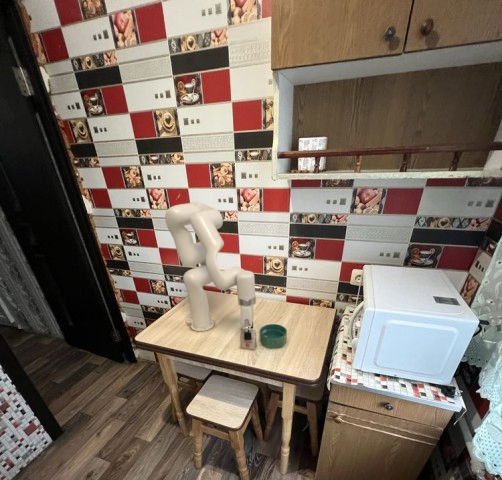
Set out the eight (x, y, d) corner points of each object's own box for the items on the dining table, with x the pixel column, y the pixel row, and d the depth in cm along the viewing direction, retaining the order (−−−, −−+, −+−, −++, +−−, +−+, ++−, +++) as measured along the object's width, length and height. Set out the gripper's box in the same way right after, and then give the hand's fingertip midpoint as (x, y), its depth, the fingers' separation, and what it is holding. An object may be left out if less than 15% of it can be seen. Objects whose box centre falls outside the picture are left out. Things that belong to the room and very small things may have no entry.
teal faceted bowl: (262, 350, 129) (262, 340, 125) (257, 335, 139) (257, 325, 136) (289, 347, 130) (290, 336, 127) (282, 332, 141) (282, 322, 138)
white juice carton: (243, 343, 134) (242, 326, 129) (256, 345, 132) (256, 328, 127) (240, 348, 131) (239, 330, 126) (254, 350, 129) (253, 332, 124)
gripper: (240, 292, 126) (242, 324, 135) (235, 309, 111) (238, 344, 120) (256, 291, 125) (258, 324, 134) (254, 309, 110) (255, 344, 120)
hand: (249, 333), depth 127 cm, fingers open, 9 cm apart
